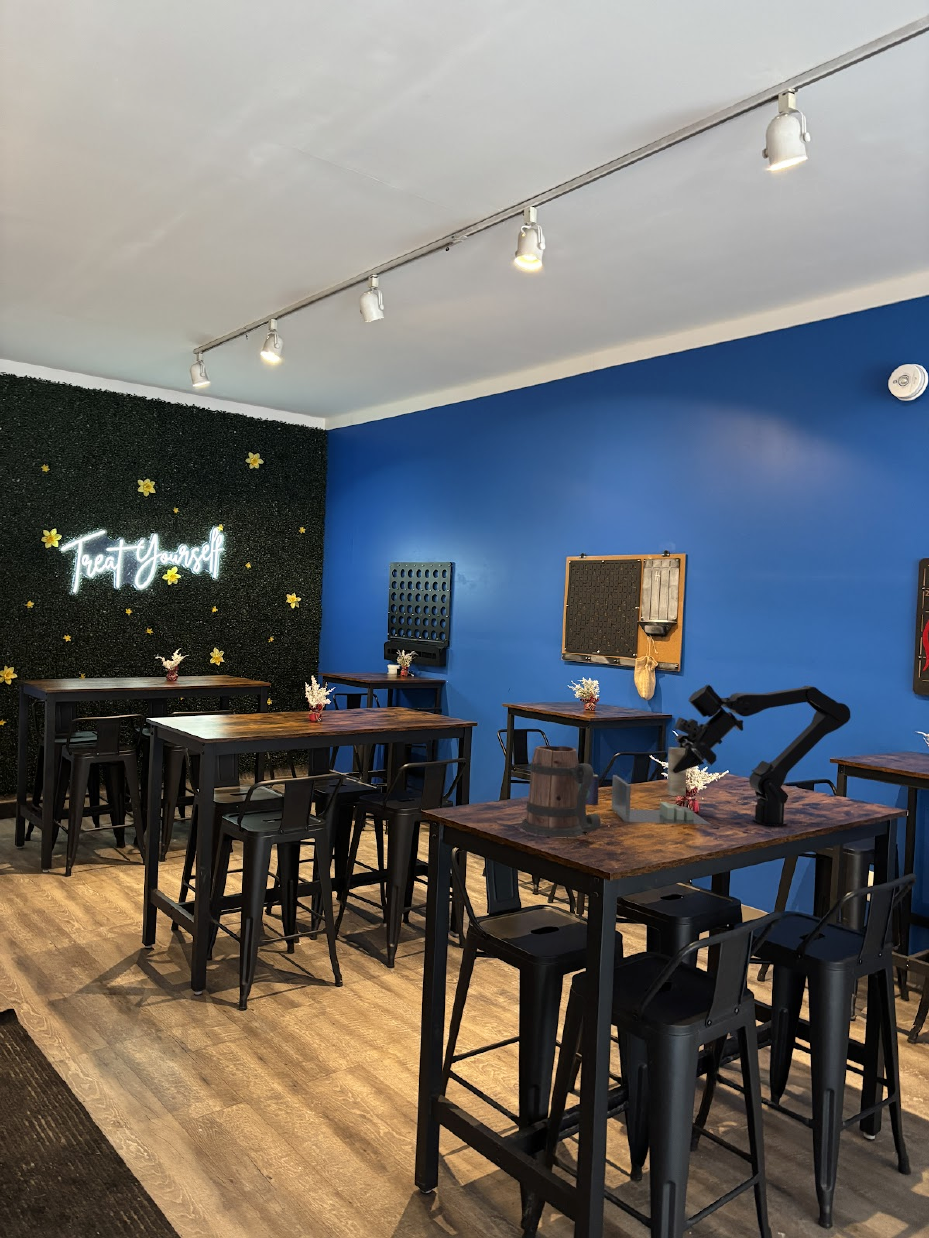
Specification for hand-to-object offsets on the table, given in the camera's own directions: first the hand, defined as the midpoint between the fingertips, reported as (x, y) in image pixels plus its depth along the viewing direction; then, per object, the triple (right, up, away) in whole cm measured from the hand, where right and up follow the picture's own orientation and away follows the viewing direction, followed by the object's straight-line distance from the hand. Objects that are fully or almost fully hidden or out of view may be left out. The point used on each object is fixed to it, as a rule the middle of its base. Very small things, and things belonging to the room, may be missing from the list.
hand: (671, 770), depth 242 cm
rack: (-3, -13, 0) cm, 13 cm away
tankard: (-31, -12, -20) cm, 39 cm away
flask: (-22, -12, +14) cm, 29 cm away
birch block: (+1, -6, 0) cm, 6 cm away
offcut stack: (+1, -12, 0) cm, 12 cm away
